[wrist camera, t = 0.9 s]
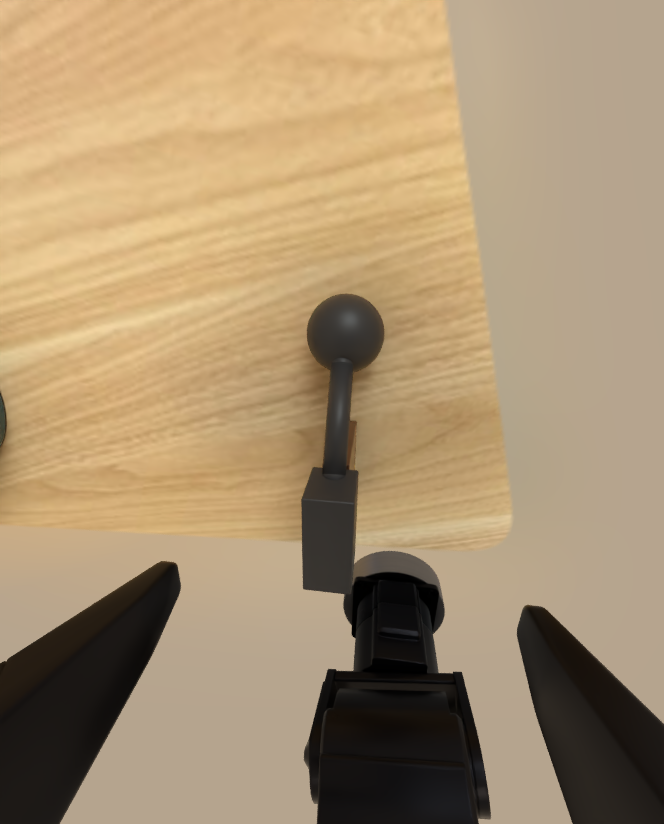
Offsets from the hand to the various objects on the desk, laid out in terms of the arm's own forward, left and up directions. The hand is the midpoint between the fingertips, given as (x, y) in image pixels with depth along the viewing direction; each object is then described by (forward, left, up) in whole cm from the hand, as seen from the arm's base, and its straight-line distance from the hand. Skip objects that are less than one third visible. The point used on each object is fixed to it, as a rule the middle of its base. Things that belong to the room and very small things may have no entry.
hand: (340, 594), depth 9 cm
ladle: (+1, +1, -12) cm, 12 cm away
